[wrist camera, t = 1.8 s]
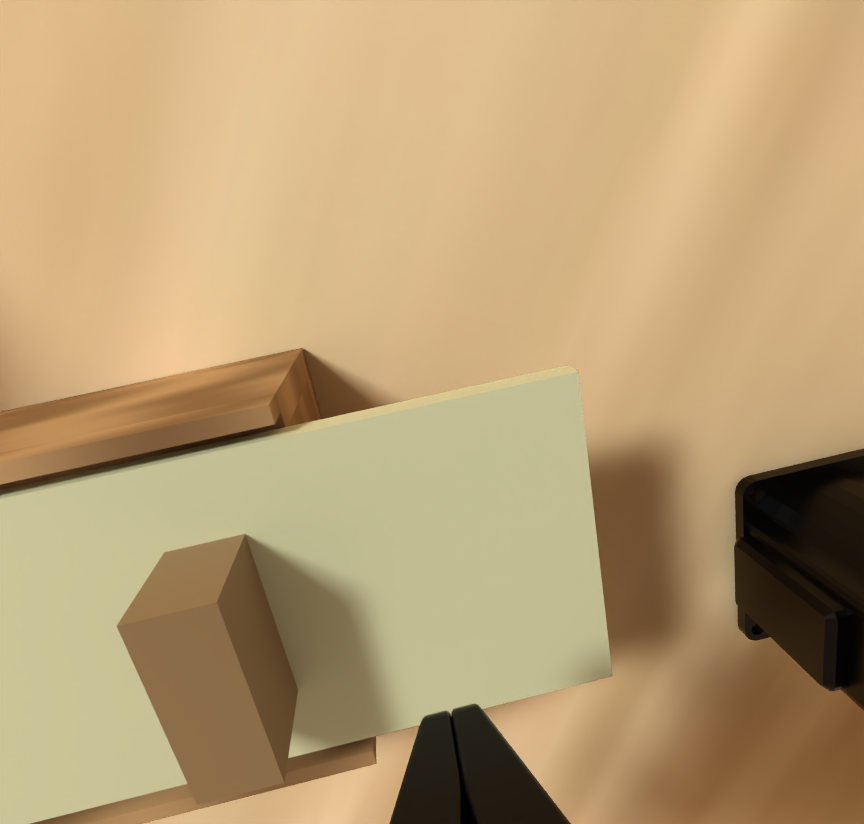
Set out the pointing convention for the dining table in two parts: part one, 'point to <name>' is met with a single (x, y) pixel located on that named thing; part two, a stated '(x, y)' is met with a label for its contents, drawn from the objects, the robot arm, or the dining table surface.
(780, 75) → the dining table surface
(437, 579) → the lid
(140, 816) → the box
